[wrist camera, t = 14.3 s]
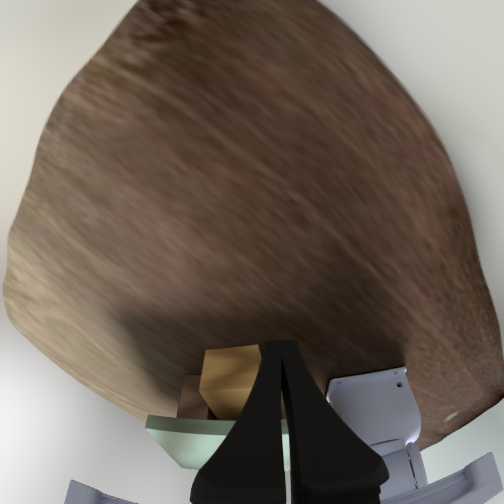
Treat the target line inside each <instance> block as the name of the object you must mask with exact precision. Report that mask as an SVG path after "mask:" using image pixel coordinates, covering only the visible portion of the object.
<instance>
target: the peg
mask: <svg viewBox="0 0 504 504" xmlns="http://www.w3.org/2000/svg"><path fill="white" fill-rule="evenodd" d="M261 359H262V357H261V353H260V350H259V346H258V344H257V345H249V346H240V347H231V348H221V349H210V350H206V352H205V358H204V363H203V369H202V375H201V381H200V387H199V392H200V393H201V395H202V397H203V398H204V400H205V401H206V403H207V404H208V406H209V407H210V409H211V410H212V412H213V413H214V415H215V416H216V418H217V419H218V420H219V421H236V420H237V418H238V417H239V415H240V413H241V411H242V409H243V407H244V405H245V403H246V401H247V399H248V396H249V394H250V392H251V389H252V387H253V384H254V382H255V379H256V376H257V373H258V370H259V366H260V363H261Z"/></svg>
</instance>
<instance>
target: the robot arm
mask: <svg viewBox="0 0 504 504" xmlns="http://www.w3.org/2000/svg"><path fill="white" fill-rule="evenodd" d="M406 371H407V369H406V367H400V368H395V369H390V370H385V371H380V372H375V373H369V374H363V375H356V376H350V377H343V378H335V379H332V380H331V381H330V383H329V387H328V391H327V394H326V398H325V396H324V395H323V393H322V392H321V390H320V389H319V387H318V385H317V384H316V382H315V380H314V379H313V377H312V375H311V373H310V371H309V370H308V368H307V366H306V364H305V361H304V359H303V357H302V355H301V352H300V350H299V347H298V344H297V341H296V340H281V341H266V342H265V343H264V345H263V354H262V359H261V363H260V366H259V370H258V373H257V376H256V379H255V382H254V384H253V387H252V389H251V392H250V394H249V396H248V399H247V401H246V403H245V405H244V407H243V409H242V411H241V413H240V415H239V417H238V418H237V420H236V422H235V423H234V425H233V427H232V428H231V430H230V432H229V433H228V435H227V436H226V437H225V439H224V440H223V442H222V443H221V444H220V446H219V447H218V448H217V450H216V451H215V452H214V454H213V455H212V456H211V457H210V458H209V459H208V461H207V462H206V463H205V464H204V465H203V466H202V467H201V468H200V470H199V471H198V473H197V475H196V477H195V479H194V482H193V485H192V488H191V495H190V502H191V503H192V504H286V485H285V469H284V455H283V441H282V426H281V411H280V407H281V390H282V396H283V402H284V409H285V415H286V421H287V427H288V435H289V451H290V476H291V504H484V503H485V502H487V501H488V500H489V499H491V498H493V497H494V496H495V495H497V494H498V493H500V492H501V491H502V490H503V485H502V482H501V478H500V475H499V472H498V469H497V465H496V463H495V460H494V456H493V453H492V452H489V453H487V454H486V455H484V456H482V457H480V458H479V459H477V460H475V461H473V462H472V463H470V464H469V465H467V466H466V467H465V468H464V469H462V470H460V471H458V472H456V473H454V474H451V475H449V476H447V477H445V478H443V479H440V480H438V481H436V482H434V483H431V484H428V482H427V477H426V473H425V469H424V465H423V461H422V458H421V454H420V451H419V448H418V445H417V444H415V443H413V442H414V441H416V439H417V438H418V436H419V433H420V430H421V417H420V412H419V409H418V406H417V403H416V401H415V398H414V395H413V393H412V390H411V388H410V385H409V383H408V380H407V378H406V375H405V373H406ZM339 413H342V418H343V420H342V419H341V417H340V416H339V415H338V414H339ZM406 445H407V446H408V450H409V451H408V452H407V448H406ZM408 453H409V455H408ZM409 456H410V459H409ZM414 478H415V479H414ZM415 480H416V483H415ZM416 484H417V486H416ZM64 504H138V503H134V502H130V501H127V500H123V499H120V498H116V497H113V496H110V495H107V494H104V493H102V492H100V491H99V490H97V489H94V488H92V487H89V486H87V485H84V484H82V483H79V482H77V481H74V480H71V481H70V484H69V488H68V491H67V495H66V499H65V503H64Z"/></svg>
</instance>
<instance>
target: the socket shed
mask: <svg viewBox="0 0 504 504" xmlns="http://www.w3.org/2000/svg"><path fill="white" fill-rule="evenodd" d="M200 381H201V375H185V378H184V382H183V387H182V392H181V397H180V402H179V407H178V412H177V417H176V418H173V417H163V416H155V415H148V417H147V421H146V426H145V429H146V430H147V431H148V432H149V433H150V435H151V436H152V437H153V438H154V439H155V440H156V441H157V442H158V444H159V445H160V446H161V447H162V448H163V449H164V450H165V451H166V452H167V453H168V454H169V455H170V456H171V457H172V458H173V459H174V460H175V461H176V462H177V463H178V464H179V465H180V466H181V467H182V468H187V469H197V470H200V468H201V467H202V466H203V465H204V464H205V463H206V462H207V461H208V459H209V458H210V457H211V456H212V455H213V454H214V452H215V451H216V450H217V448H218V447H219V446H220V444H221V443H222V442H223V440H224V439H225V437H226V436H227V435H228V433H229V432H230V430H231V428H232V427H233V425H234V423H235V422H236V421H219V420H218V419H217V418H216V416H215V415H214V413H213V412H212V410H211V409H210V407H209V406H208V404H207V403H206V401H205V400H204V398H203V397H202V395H201V393H200V392H199V387H200ZM280 411H281V426H282V441H283V455H284V469H285V471H290V451H289V435H288V427H287V421H286V415H285V409H284V402H283V396H282V390H281V407H280ZM338 415H339V416H340V417H341V419H342V420H343V418H342V413H339V414H338Z"/></svg>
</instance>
